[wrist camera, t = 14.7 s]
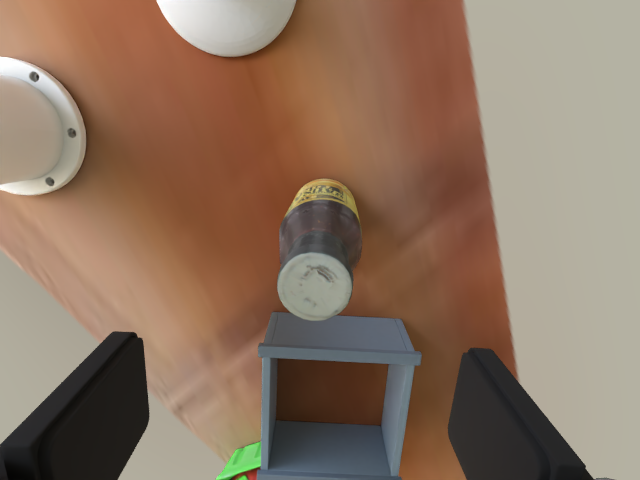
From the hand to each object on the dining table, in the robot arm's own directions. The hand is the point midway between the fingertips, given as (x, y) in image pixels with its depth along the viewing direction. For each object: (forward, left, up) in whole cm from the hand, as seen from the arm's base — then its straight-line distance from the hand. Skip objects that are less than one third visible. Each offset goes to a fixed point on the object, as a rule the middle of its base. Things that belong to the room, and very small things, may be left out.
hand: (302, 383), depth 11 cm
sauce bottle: (+1, -1, -29) cm, 29 cm away
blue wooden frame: (+3, -21, -28) cm, 35 cm away
